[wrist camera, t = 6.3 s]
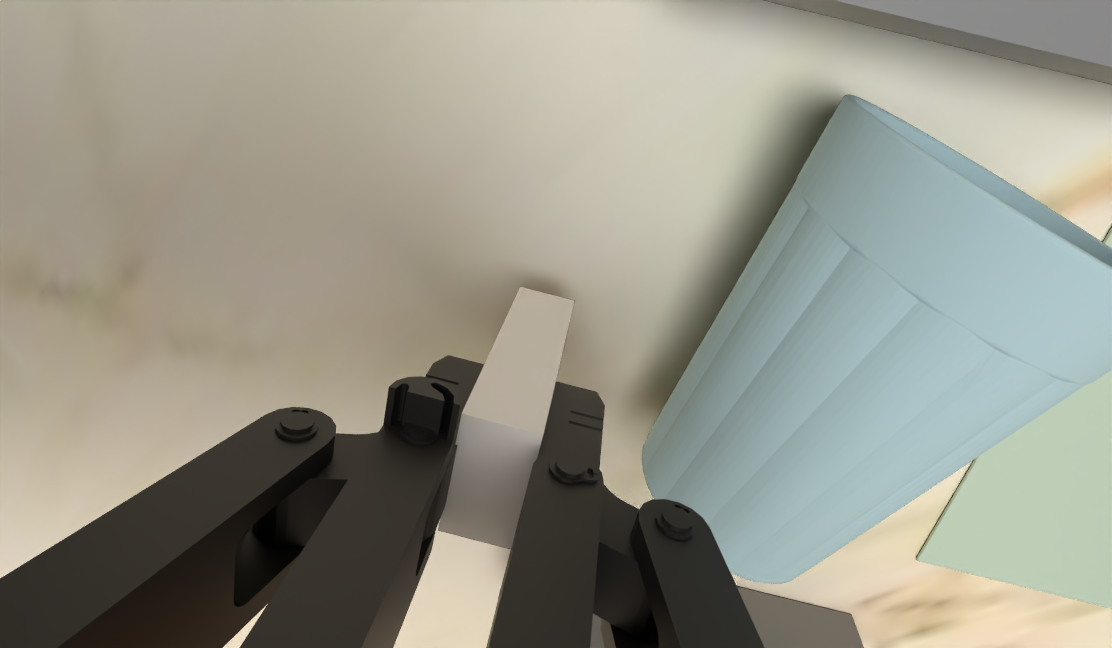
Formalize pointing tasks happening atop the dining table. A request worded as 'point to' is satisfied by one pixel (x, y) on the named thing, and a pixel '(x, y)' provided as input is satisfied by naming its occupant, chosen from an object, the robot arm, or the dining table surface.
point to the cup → (876, 345)
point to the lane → (974, 24)
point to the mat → (1039, 503)
